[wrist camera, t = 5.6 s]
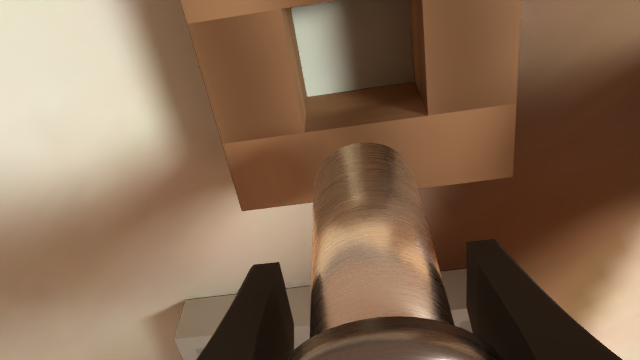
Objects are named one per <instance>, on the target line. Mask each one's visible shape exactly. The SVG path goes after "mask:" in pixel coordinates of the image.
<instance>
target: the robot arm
mask: <svg viewBox="0 0 640 360" xmlns="http://www.w3.org/2000/svg"><path fill="white" fill-rule="evenodd" d="M466 307H467V311H468V315H469V320H470V324H471V328H472V332H473V334H475V335H477V336H479V337H480V338H481V339H483V340H484V341H486V342H487V343H488V344H490V345H491V346H492V347H493V348H494V349H495V350H496V351H497V352H498V354H499V355H500V356H501V358H502V359H503V360H622V359H621V358H620V357H618V356H617V355H616V354H614V353H613V352H612V351H611V350H609V349H608V348H607V347H606V346H604V345H603V344H602V343H601V342H600V341H598V340H597V339H596V338H595V337H593V336H592V335H591V334H590V333H589V332H588V331H587V330H585V329H584V328H583V327H582V326H581V325H580V324H578V323H577V322H576V321H575V320H574V319H573V318H572V317H571V316H569V315H568V314H567V313H566V312H565V311H564V310H563V309H562V308H561V307H560V306H559V305H558V304H557V303H556V302H555V301H554V300H552V299H551V298H550V297H549V296H548V295H547V294H546V293H545V292H544V291H543V290H542V289H541V288H540V287H539V286H538V285H537V284H536V283H535V282H534V281H533V280H532V279H531V278H530V277H529V276H528V275H527V274H526V272H525V271H524V270H523V269H522V268H521V267H520V266H519V265H518V264H517V263H516V262H515V261H514V260H513V258H512V257H511V256H510V255H509V254H508V253H507V252H506V251H505V249H504V248H503V247H502V246H501V245H500V244H499V243H498V242H497V241H496V240H494V239H492V240H483V241H473V242H467V282H466ZM293 350H294V321H293V317H292V313H291V309H290V304H289V300H288V296H287V292H286V288H285V284H284V280H283V276H282V272H281V268H280V264H279V262H276V263H266V264H257V265H253V266H252V267H251V269H250V270H249V272H248V274H247V276H246V278H245V280H244V282H243V284H242V286H241V288H240V289H239V291H238V293H237V295H236V297H235V299H234V300H233V302H232V304H231V306H230V307H229V309H228V311H227V313H226V314H225V316H224V317H223V319H222V321H221V322H220V324H219V326H218V327H217V329H216V331H215V332H214V334H213V336H212V337H211V339H210V340H209V342H208V343H207V345H206V346H205V348H204V349H203V351H202V352H201V353H200V355H199V356H198V358H197V359H196V360H284V359H285V358H286V357H287V356H288V355H289V354H290V353H291V352H292V351H293Z"/></svg>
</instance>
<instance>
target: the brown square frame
mask: <svg viewBox="0 0 640 360" xmlns="http://www.w3.org/2000/svg"><path fill="white" fill-rule="evenodd" d="M180 1H181V4H182V8H183V11H184V15H185V18H186V21H187V25H188V28H189V32H190V35H191V39H192V42H193V45H194V49H195V52H196V56H197V59H198V63H199V66H200V69H201V73H202V76H203V80H204V83H205V87H206V90H207V93H208V97H209V100H210V104H211V107H212V111H213V114H214V117H215V121H216V124H217V128H218V131H219V135H220V138H221V141H222V145H223V148H224V152H225V155H226V159H227V162H228V165H229V169H230V172H231V176H232V179H233V182H234V186H235V189H236V193H237V196H238V200H239V203H240V206H241V210H242V211H247V210H255V209H263V208H271V207H279V206H287V205H295V204H303V203H311V202H313V199H314V180H315V176H316V173H317V171H318V169H319V167H320V165H321V164H322V163H323V161H324V160H325V159H326V158H327V157H328V156H329V155H331V154H332V153H333V152H335V151H337V150H338V149H340V148H343V147H345V146H348V145H351V144H356V143H366V142H367V143H377V144H382V145H385V146H388V147H390V148H393V149H394V150H396V151H398V152H399V153H400V154H401V155H403V156H404V157H405V158H406V160H407V161H408V162H409V164H410V165H411V167H412V169H413V172H414V176H415V179H416V183H417V187H418V189H422V188H430V187H438V186H446V185H454V184H461V183H469V182H477V181H485V180H493V179H501V178H509V177H513V169H514V148H515V127H516V106H517V85H518V64H519V43H520V22H521V2H522V0H410V11H411V27H412V43H413V58H414V74H415V82H410V83H403V84H396V85H389V86H382V87H375V88H368V89H361V90H355V91H348V92H341V93H334V94H327V95H320V96H313V97H307V95H306V89H305V84H304V78H303V73H302V67H301V62H300V57H299V51H298V46H297V40H296V35H295V29H294V24H293V18H292V13H291V7H296V6H302V5H309V4H315V3H321V2H327V1H334V0H180Z"/></svg>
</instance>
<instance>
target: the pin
mask: <svg viewBox="0 0 640 360" xmlns="http://www.w3.org/2000/svg"><path fill="white" fill-rule="evenodd" d="M284 360H503V359H502V358H501V356H500V355H499V354H498V352H497V351H496V350H495V349H494V348H493V347H492V346H491V345H490V344H488V343H487V342H486V341H484V340H483V339H481V338H480V337H479V336H477V335H475V334H473V333H471V332H469V331H467V330H465V329H463V328H460V327H458V326H455V325H454V321H453V317H452V314H451V310H450V306H449V302H448V299H447V295H446V291H445V287H444V284H443V280H442V276H441V272H440V269H439V265H438V261H437V258H436V254H435V250H434V246H433V243H432V239H431V235H430V231H429V228H428V224H427V220H426V217H425V213H424V209H423V205H422V202H421V198H420V194H419V190H418V187H417V183H416V179H415V176H414V172H413V169H412V167H411V165H410V164H409V162H408V161H407V160H406V158H405V157H404V156H403V155H401V154H400V153H399V152H398V151H396V150H394V149H393V148H390V147H388V146H385V145H382V144H377V143H367V142H366V143H356V144H351V145H348V146H345V147H343V148H340V149H338V150H337V151H335V152H333V153H332V154H331V155H329V156H328V157H327V158H326V159H325V160H324V161H323V163H322V164H321V165H320V167H319V169H318V171H317V173H316V176H315V180H314V199H313V235H312V271H311V307H310V339H308V340H307V341H305V342H303V343H302V344H301V345H299V346H298V347H297V348H295V349H294V350H293V351H292V352H291V353H290V354H289V355H288V356H287V357H286V358H285V359H284Z"/></svg>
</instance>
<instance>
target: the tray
mask: <svg viewBox="0 0 640 360" xmlns="http://www.w3.org/2000/svg"><path fill="white" fill-rule="evenodd" d="M440 272H441V276H442V280H443V284H444V287H445V291H446V295H447V299H448V302H449V306H450V310H451V314H452V317H453V321H454V325H455V326H458V327H460V328H463V329H465V330H467V331H469V332H471V333H473V332H472V328H471V324H470V320H469V315H468V311H467V307H466V282H467V269H458V270H449V271H440ZM286 292H287V296H288V300H289V304H290V309H291V313H292V317H293V321H294V349H295V348H297V347H298V346H299V345H301V344H302V343H303V342H305V341H307V340H308V339H310V307H311V286H306V287H297V288H288V289H286ZM236 295H237V294H234V295H225V296H217V297H208V298H199V299H190V300H185V303H184V307H183V310H182V313H181V317H180V320H179V323H178V326H177V330H176V333H175V336H174V341H175V344H176V346H177V348H178V350H179V353H180V355H181V357H182V359H183V360H196V359H197V358H198V356H199V355H200V353H201V352H202V351H203V349H204V348H205V346H206V345H207V343H208V342H209V340H210V339H211V337H212V336H213V334H214V332H215V331H216V329H217V327H218V326H219V324H220V322H221V321H222V319H223V317H224V316H225V314H226V313H227V311H228V309H229V307H230V306H231V304H232V302H233V300H234V299H235V297H236Z"/></svg>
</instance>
